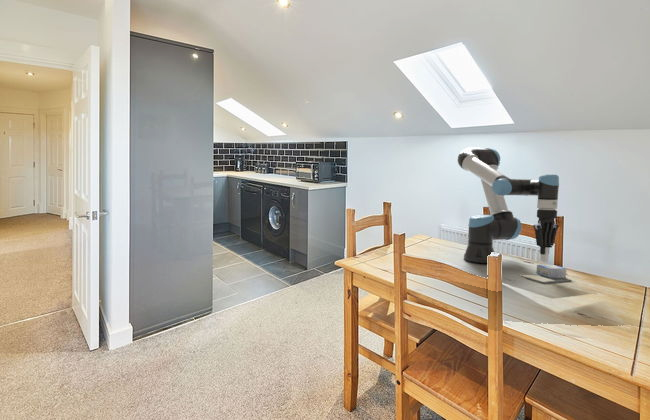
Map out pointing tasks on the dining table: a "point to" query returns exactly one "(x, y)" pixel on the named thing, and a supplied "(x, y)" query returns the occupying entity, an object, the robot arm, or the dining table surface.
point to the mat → (545, 279)
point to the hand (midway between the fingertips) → (544, 261)
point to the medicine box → (551, 271)
